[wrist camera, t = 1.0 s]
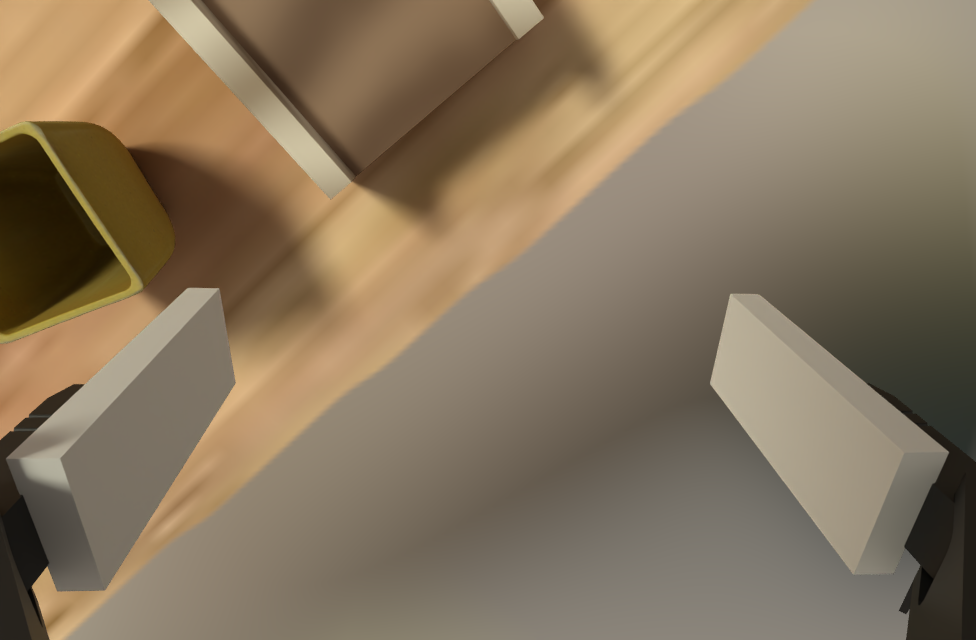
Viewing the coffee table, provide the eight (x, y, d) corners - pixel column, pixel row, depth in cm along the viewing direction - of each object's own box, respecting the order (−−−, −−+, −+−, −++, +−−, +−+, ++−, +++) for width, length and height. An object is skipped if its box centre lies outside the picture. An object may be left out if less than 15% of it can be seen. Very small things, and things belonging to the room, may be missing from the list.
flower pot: (93, 285, 38) (-5, 349, 30) (2, 156, 35) (-137, 188, 27) (214, 238, 37) (147, 290, 29) (133, 101, 34) (31, 117, 26)
